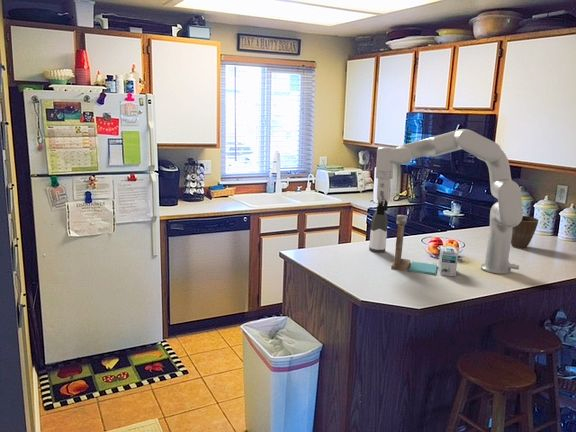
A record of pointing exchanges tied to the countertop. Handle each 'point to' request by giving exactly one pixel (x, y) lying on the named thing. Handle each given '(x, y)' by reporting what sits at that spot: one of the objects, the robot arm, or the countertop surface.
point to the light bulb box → (448, 260)
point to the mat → (423, 268)
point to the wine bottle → (378, 233)
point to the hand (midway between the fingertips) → (382, 212)
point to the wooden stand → (400, 245)
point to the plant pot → (523, 232)
